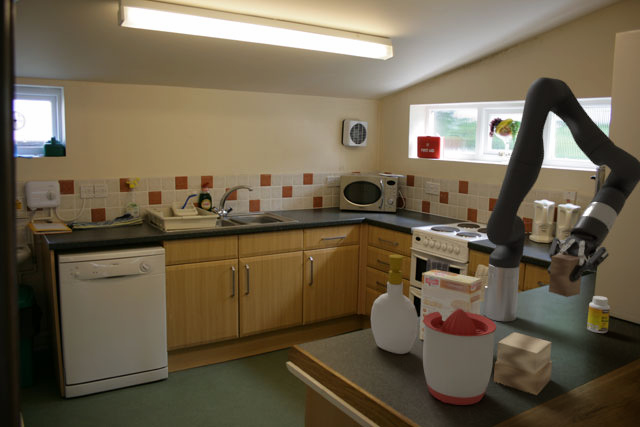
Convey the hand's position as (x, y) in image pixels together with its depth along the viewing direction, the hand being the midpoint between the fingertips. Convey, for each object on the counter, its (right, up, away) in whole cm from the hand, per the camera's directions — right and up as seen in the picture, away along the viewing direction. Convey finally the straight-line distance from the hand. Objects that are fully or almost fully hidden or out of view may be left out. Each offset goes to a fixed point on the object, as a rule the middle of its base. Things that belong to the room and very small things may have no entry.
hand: (561, 277), depth 129 cm
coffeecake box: (-22, -21, +21) cm, 37 cm away
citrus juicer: (-28, -25, -8) cm, 38 cm away
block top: (-10, -20, -3) cm, 22 cm away
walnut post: (+1, -4, +2) cm, 5 cm away
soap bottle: (-38, -22, +16) cm, 47 cm away
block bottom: (-10, -25, -2) cm, 27 cm away
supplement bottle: (+25, -20, +32) cm, 45 cm away
